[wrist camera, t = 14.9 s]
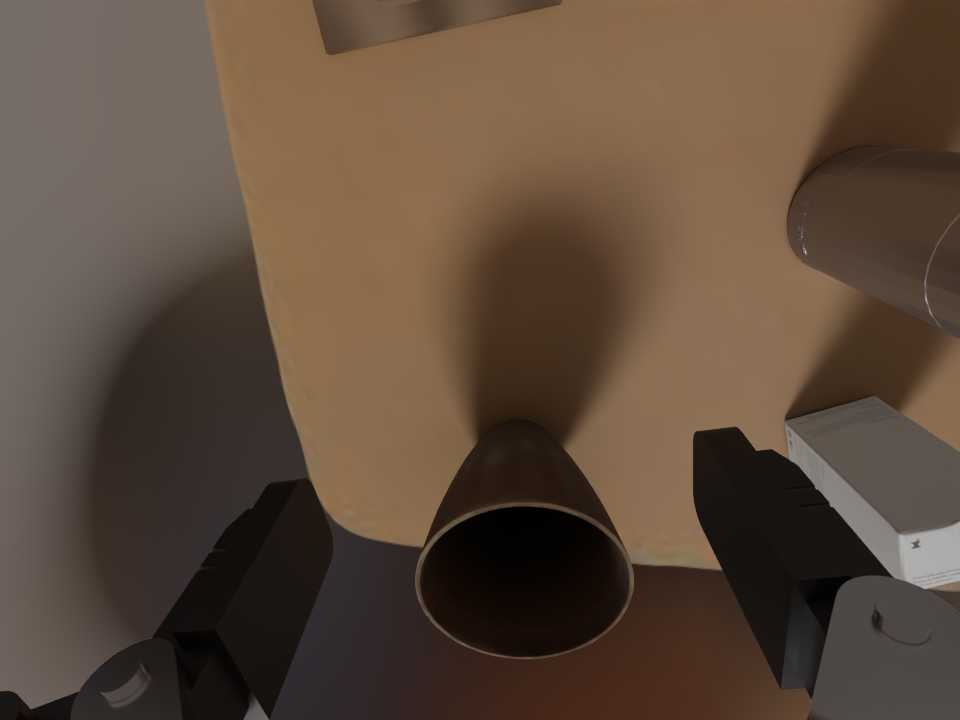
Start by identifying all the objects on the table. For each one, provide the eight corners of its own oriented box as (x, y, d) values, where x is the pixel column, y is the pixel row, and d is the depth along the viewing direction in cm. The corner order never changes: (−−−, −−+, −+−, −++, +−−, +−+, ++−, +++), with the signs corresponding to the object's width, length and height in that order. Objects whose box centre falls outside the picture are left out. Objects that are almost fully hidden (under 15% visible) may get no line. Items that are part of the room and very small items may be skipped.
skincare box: (788, 466, 48) (898, 599, 35) (781, 415, 46) (895, 537, 33) (883, 443, 47) (1036, 573, 33) (881, 389, 45) (1044, 506, 31)
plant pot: (457, 367, 45) (435, 482, 31) (617, 401, 46) (668, 530, 32) (428, 494, 52) (400, 639, 37) (569, 522, 53) (594, 674, 38)
